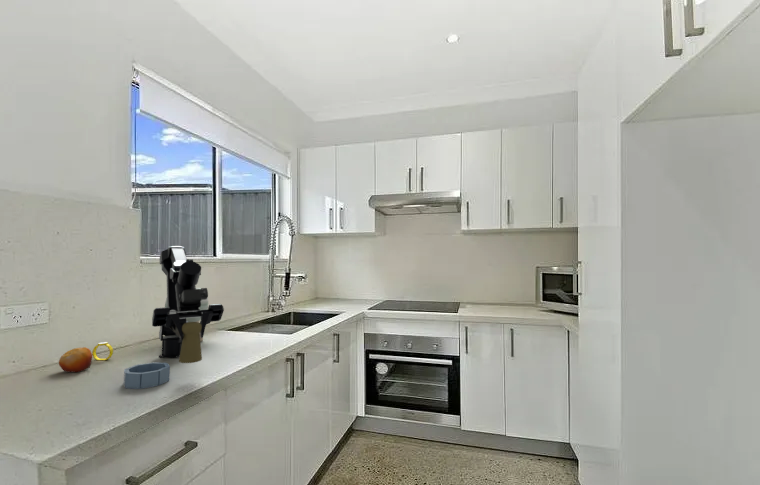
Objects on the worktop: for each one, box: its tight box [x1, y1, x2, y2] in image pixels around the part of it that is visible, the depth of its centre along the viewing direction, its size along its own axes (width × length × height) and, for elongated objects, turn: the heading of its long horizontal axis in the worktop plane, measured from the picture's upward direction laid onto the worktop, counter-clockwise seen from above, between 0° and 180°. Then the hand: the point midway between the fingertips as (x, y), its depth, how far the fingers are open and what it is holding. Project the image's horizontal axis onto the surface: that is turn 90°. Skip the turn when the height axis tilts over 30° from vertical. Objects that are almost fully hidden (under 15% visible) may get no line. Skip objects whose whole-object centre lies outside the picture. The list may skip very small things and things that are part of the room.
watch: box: [91, 341, 114, 361], centre depth 124 cm, size 6×3×6 cm, turn 95°
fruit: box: [58, 346, 93, 373], centre depth 113 cm, size 8×8×8 cm
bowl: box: [122, 362, 171, 390], centre depth 103 cm, size 11×11×4 cm
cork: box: [178, 321, 203, 364], centre depth 105 cm, size 6×6×11 cm
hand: (192, 338), depth 104 cm, fingers closed on cork, 5 cm apart
